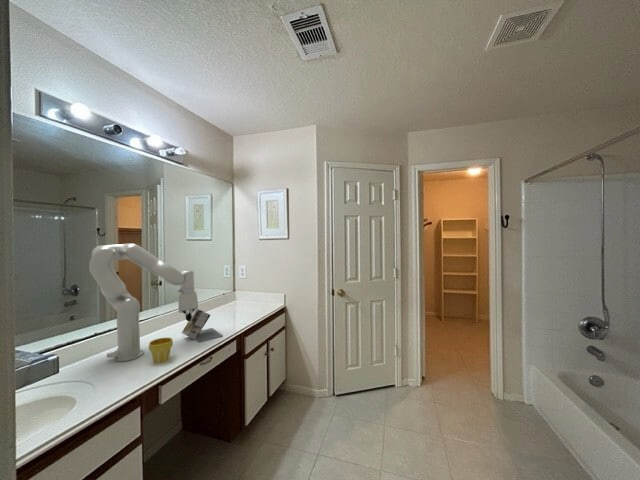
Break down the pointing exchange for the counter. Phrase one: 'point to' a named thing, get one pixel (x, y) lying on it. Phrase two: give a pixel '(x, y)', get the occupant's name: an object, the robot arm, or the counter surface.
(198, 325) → the coffee box
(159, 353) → the plant pot
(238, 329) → the counter surface
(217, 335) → the mat
